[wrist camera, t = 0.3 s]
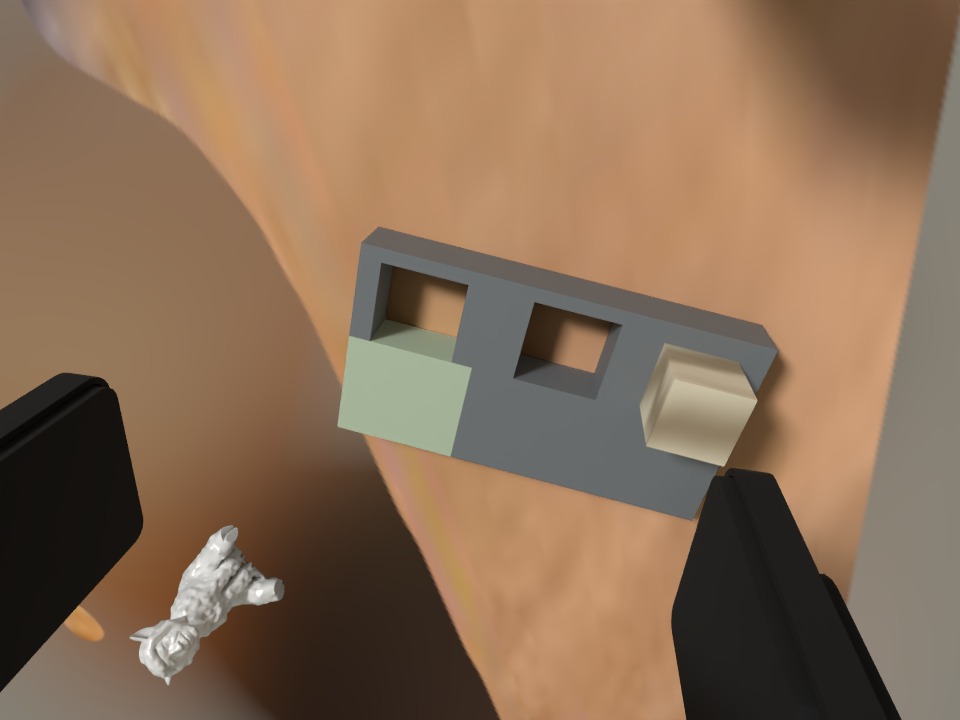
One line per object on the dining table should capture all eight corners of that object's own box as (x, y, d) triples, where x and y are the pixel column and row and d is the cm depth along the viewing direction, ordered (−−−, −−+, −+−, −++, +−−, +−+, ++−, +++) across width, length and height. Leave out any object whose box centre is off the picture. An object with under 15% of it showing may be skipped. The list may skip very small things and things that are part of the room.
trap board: (378, 226, 45) (361, 242, 41) (762, 325, 44) (778, 350, 40) (353, 400, 52) (337, 426, 48) (684, 487, 51) (692, 520, 48)
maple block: (664, 343, 41) (674, 379, 37) (738, 362, 41) (757, 400, 37) (639, 405, 44) (646, 446, 39) (709, 423, 44) (723, 466, 39)
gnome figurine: (292, 586, 63) (234, 696, 53) (231, 609, 66) (164, 718, 56) (232, 520, 60) (158, 622, 50) (170, 547, 63) (88, 649, 52)
